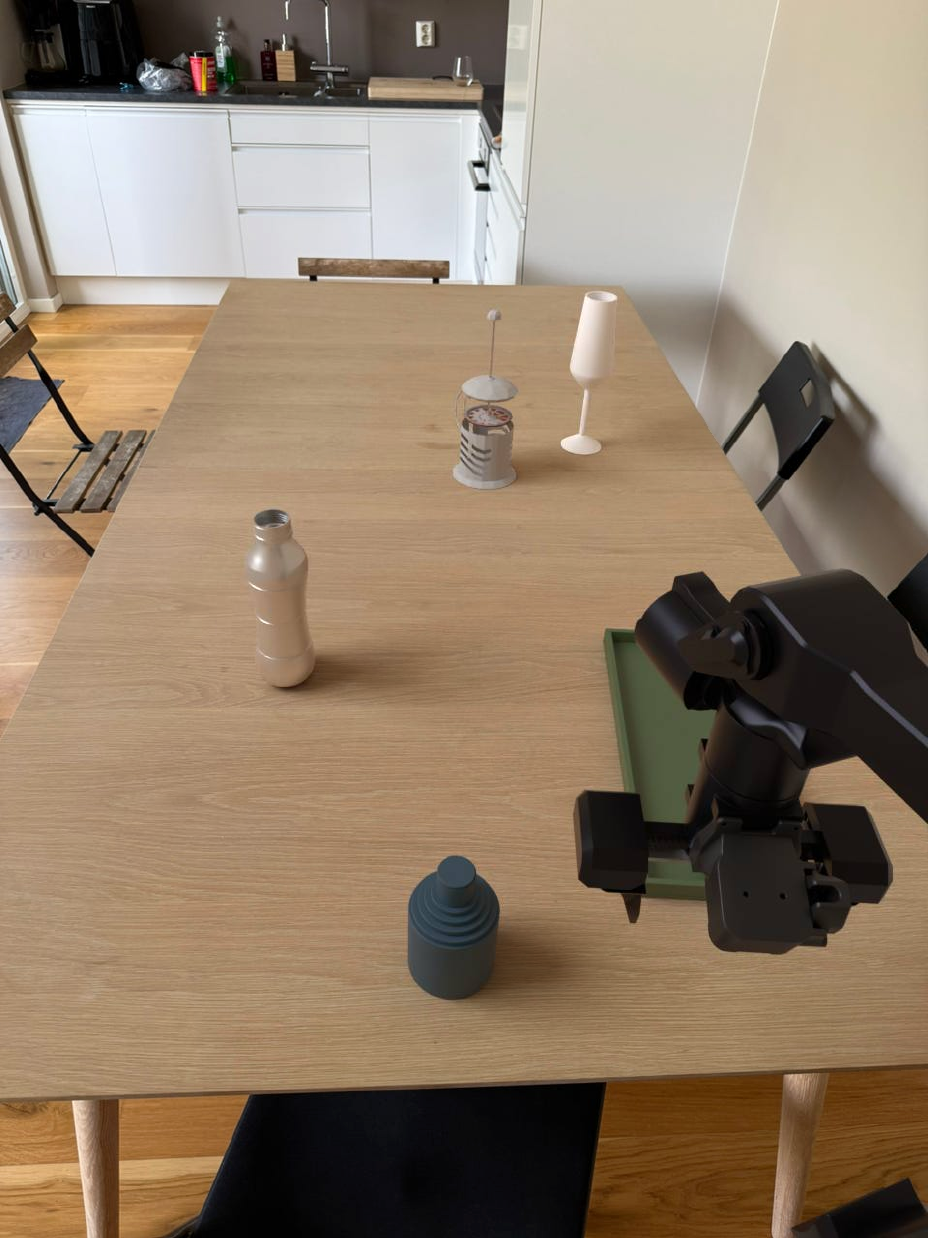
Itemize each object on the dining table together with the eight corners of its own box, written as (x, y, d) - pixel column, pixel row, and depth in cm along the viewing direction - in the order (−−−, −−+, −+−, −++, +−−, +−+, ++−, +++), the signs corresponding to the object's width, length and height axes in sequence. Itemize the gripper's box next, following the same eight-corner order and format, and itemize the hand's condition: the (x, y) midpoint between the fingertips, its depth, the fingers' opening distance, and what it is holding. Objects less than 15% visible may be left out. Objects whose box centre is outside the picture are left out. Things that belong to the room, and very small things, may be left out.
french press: (480, 495, 131) (490, 327, 115) (432, 464, 138) (436, 302, 122) (529, 477, 136) (545, 313, 120) (481, 448, 143) (490, 290, 127)
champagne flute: (555, 449, 144) (572, 298, 129) (567, 432, 149) (585, 286, 134) (595, 458, 142) (617, 306, 127) (606, 441, 147) (629, 293, 132)
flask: (507, 984, 70) (518, 897, 63) (422, 1011, 68) (425, 924, 61) (476, 911, 75) (484, 823, 68) (397, 933, 73) (396, 845, 66)
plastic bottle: (248, 690, 96) (226, 532, 83) (269, 651, 101) (251, 497, 89) (306, 699, 95) (292, 541, 83) (324, 658, 100) (314, 505, 88)
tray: (813, 906, 77) (820, 893, 76) (638, 896, 77) (642, 883, 76) (731, 648, 105) (735, 635, 104) (603, 641, 105) (605, 627, 104)
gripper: (605, 872, 45) (569, 1029, 54) (976, 893, 45) (874, 1046, 54) (588, 717, 53) (560, 876, 63) (898, 734, 53) (822, 890, 63)
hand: (699, 921), depth 61 cm, fingers open, 9 cm apart
